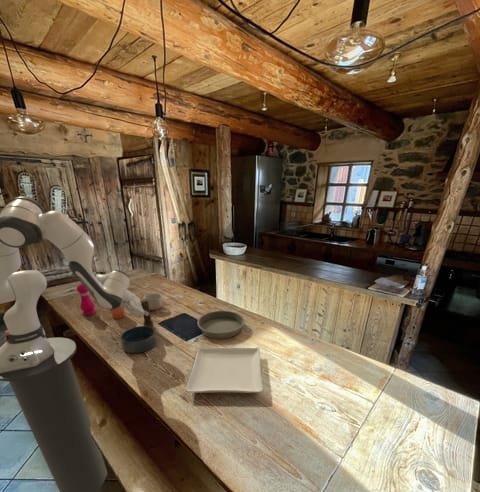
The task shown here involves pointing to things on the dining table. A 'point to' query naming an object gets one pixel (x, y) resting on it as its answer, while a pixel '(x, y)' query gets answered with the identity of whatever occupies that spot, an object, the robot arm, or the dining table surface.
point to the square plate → (226, 371)
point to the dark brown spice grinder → (147, 319)
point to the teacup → (153, 300)
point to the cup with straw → (117, 312)
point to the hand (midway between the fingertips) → (147, 312)
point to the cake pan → (220, 324)
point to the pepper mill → (85, 300)
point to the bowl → (138, 339)
